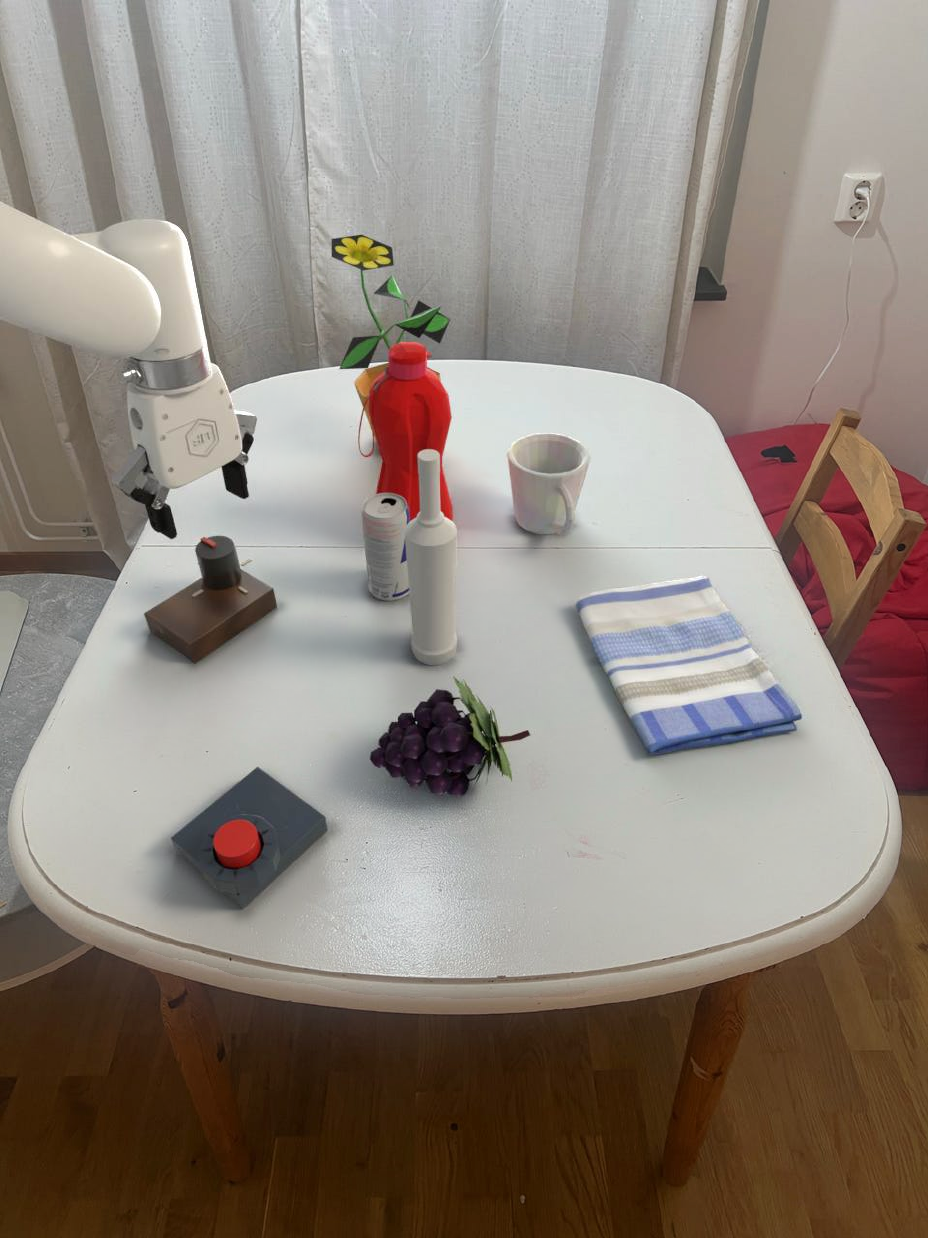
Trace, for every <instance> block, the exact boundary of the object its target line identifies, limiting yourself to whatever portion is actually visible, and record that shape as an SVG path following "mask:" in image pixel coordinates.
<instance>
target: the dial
mask: <svg viewBox="0 0 928 1238" xmlns="http://www.w3.org/2000/svg"><path fill="white" fill-rule="evenodd" d="M194 549H195V550H194V552H195V555H196V560H197V564H198V563H199V565H198V567H199V571H200V575H201V578H202V579H203V582H204V584H205V585H206V586H207V587H209V588H211V589H217V590H221V589H227V588H230V587H232V586H234V585H236V584H237V583H238V582H239V581H240V579H241V576H242V574H241V569H242V568H241V564H240V560H239V556H238V552H237V548H236V543H235V541H234V540H233V539H232V538H231V537H229V536H226V535H211V536H207V537H206V536H203V537H201V538H200V541H199V542H198V543H197V544H196V546H195V548H194Z"/></svg>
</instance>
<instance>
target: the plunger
mask: <svg viewBox="0 0 928 1238" xmlns="http://www.w3.org/2000/svg"><path fill="white" fill-rule="evenodd" d="M213 844H214V848H215V851H216V854H217V857H218V859H219V861H220V862H221V863H222V864H223V865H224V866H226V867H229V868H241V867H245V866H247V865H249V864H250V863H252V862H253V861H254V860H255V859H256V858H257V856H258V854H259V852H260V848H261V844H260V840H259V836H258V833H257V830H256V828H255V826H254V825H253V824H252V823H250V822H248V821H245V820H234V821H230V822H228V823H226V824H224V825H223V826H221V827H220V828H219V829H218V831H217V832H216V834H215V836H214V840H213Z"/></svg>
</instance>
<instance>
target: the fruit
mask: <svg viewBox="0 0 928 1238" xmlns="http://www.w3.org/2000/svg"><path fill="white" fill-rule="evenodd" d="M452 678H453V680H454V683H455V685H456V687H457V688H458V692H459V696H460V697H458V696H457V697H454V695H453V694H452V692H450V691H448V690H446V689H440V688H439V689H438V688H436V689H435V690H434V691H433V693H432V694H431V695H430V697H429V698H427V700H424V701H422V700H420V702H419V703H418V705H417V706H416V707H415V708H414V710H413V712H400V714H399V715H398V716H397V721H391V722H390V724H389V725H388V729H387V732H384V733H383V734H382V735H381V737H379V739H378V746H379V747H376V748H375V749H374V750H372V751H371V752H370V758H369V760H370V761H371V764H372V765H373V766H374V767H376V768H378V769H385V770H386V771H387V772H388V774H389V776H390V777H391V778H393V779H403V780H404V781H405V782H406V784H407V785H408V786H409V788H418V787H421V786H422V785H423V783H424V782H425V784H426V786H427V789H428V791H429V793H430V794H433V795H442V794H445V793H446V794H448V795H450V796H453V797H456V798H459V799H460V798H461V797H463V796H464V795H466V793H467V792H468V791H469V787H470V782H472V781H475V783H474V785H473V788H472V790H471V792H470V794H469V795H471V794H472V792H473V790H474V789H475V787H476V785H477V783H478V781H479V780H480V777H481V775H482V773H483V770H484V769H485V767H486V764H487V775H489V773H490V769H491V766H492V764H494V767H496V768H497V769H498V770H499V772H501V777H502V778H503V777H504V776H506V777H508V779H509V780H510V782H511V783H513V775H512V769H511V764H510V761H509V758H508V755H507V754H506V751H505V748H504V746H503V744H504V743H510V742H515V741H521V740H523V739H526V738H528V737H530V736H531V733H530V731H529V729H526V730H524V731H520V732H517V733H515V734H512V735H500V730H499V725H498V720H497V716H496V713H495V709H494V708H492V707H490V710H489V711H488V709H487V707H486V706H485V704H484V703H483V701H482V700H481V699H480V697H479V696H478V695H477V694H473V691H472V689H471V688H470V686H469V685H468V684H467V682H466V680H464V678H463V679H462V680H463V681H462V680H458V678H457V677H456V676H454V675H453V676H452ZM475 695H476V696H475ZM455 700H460V701H461V702H462V704H463V705H464V707H465V708H466V709H467V711H468V712H469V713H465V711H464V710H463V709H462V710H461V709H458V708H457V706H456V705H455ZM461 714H463V716H462V715H461ZM477 765H478V766H479V765H480V766H479V769H478V770H477V772H476V774H475V776H474V777H472V778H469V777H468V776H469V775H470V774H471V772H472V771H473V769H475V767H476V766H477ZM488 779H489V777H487V778H486V783H485V785H487V784H488V781H489V780H488Z"/></svg>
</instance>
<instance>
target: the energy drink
mask: <svg viewBox="0 0 928 1238" xmlns="http://www.w3.org/2000/svg"><path fill="white" fill-rule="evenodd" d="M361 522H362V523H361V524H362V534H363V543H364V552H365V553H364V555H365V565H366V574H367V575H366V576H367V586H368V591H369V592H370V594H371V595H372V596H374V597H375V598H377V599H378V600H381V601H385V602H386V601H387V602H392V601H398V600H401V599H405V597H407V596H409V595H410V594H409V582H408V569H407V556H406V544H405V527H406V525H407V524H408V523H409V522H410V511H409V507H408V505H407V502H406V500H405V499H404V498H403V497H401V496H400V495H397V494H393V493H380V494H376V493H375V494H373V495H370V496H369V497H367V498H366V499H365V500H364V501H363V504H362V509H361Z"/></svg>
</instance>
